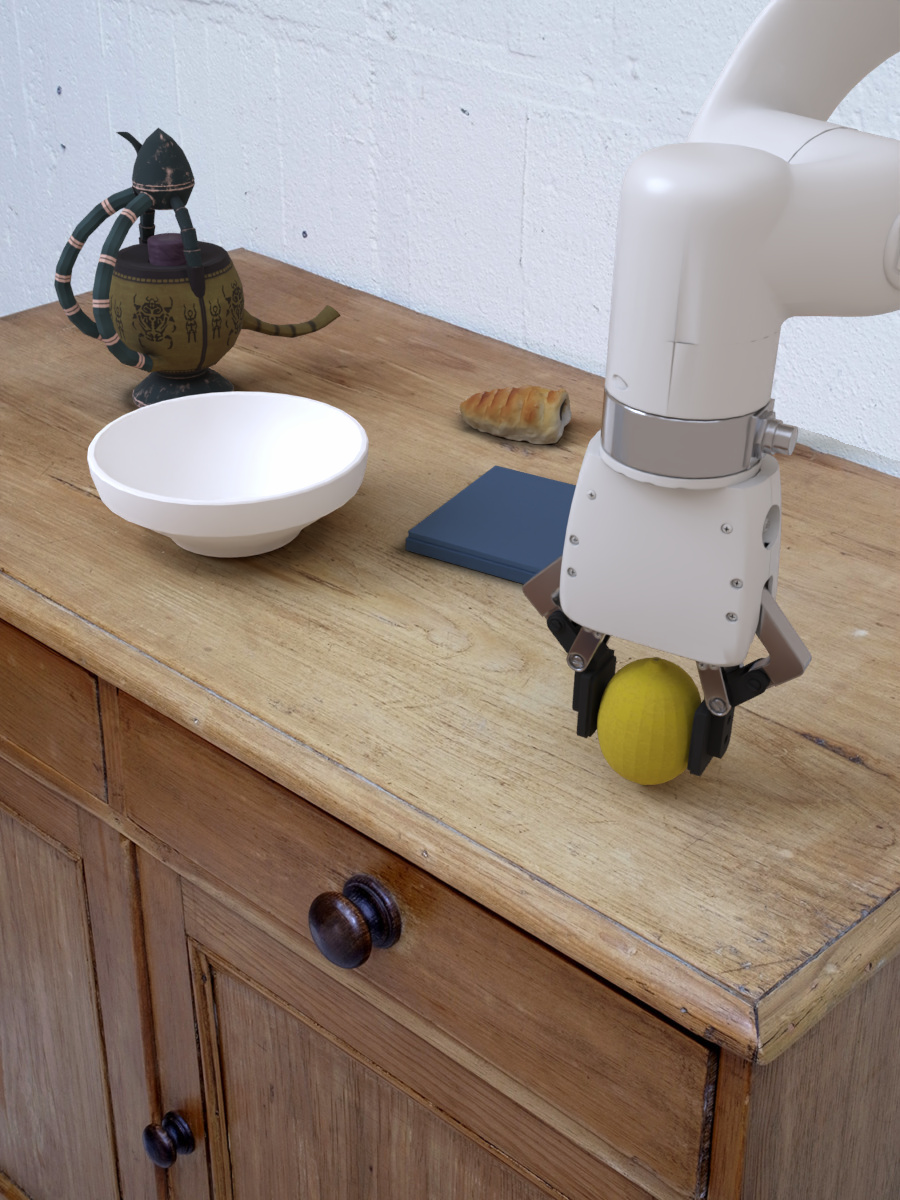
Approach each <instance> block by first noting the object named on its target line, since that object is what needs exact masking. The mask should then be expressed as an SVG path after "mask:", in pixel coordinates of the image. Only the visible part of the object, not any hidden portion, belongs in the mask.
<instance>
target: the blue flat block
mask: <svg viewBox="0 0 900 1200" xmlns="http://www.w3.org/2000/svg"><path fill="white" fill-rule="evenodd" d="M575 488H576V484H573V483H569V482H568V483H567V482H564V481H560V480H556V479H552V478H548V477H545V476H541V475H536V474H533V473H528V472H524V471H520V470H516V469H513V468H508V467H504V466H500V465H494V466H492V467H491V468H490V469H489V470H487V471H486V472H484V473H483V474H482V475H481V476H479V477H478V478H477V479H474V481H472V483H470V484H469V485H467V486H466V487H464V488H463V489H462V490H461V491H459V492H458V493H457V494H455V495H454V496H453V497H451V498H450V499H449V500H448V501H446V502H445V503H443V504H442V505H441V506H439V507H437V509H435V510H434V511H433V512H431V513H430V514H429V515H428V516H426V517H425V518H423V519H422V520H421V521H419V522H418V523H416V525H414V526H413V527H412V528H410V529H409V530H408V531H407V537H405V551H408V552H411V553H415V554H418V555H421V556H425V557H428V558H432V559H435V560H439V561H443V562H446V563H448V564H449V563H450V564H453V565H456V566H459V567H463V568H467V569H469V570H474V571H477V572H481V573H484V574H487V575H490V576H494V577H498V578H501V579H504V580H507V581H511V582H515V583H519V584H522V585H524V584H525V583H526V582H527V581H528V580H529V579H530V578H532V577H533V576H534V575H535V574H536V573H537V572H539V571H540V570H541V569H543V568H544V567H545V566H547V565H548V564H549V563H551V562H552V561H553V560H555V559H556V558H557V557H559V556H560V555H561V554H563V549H564V543H565V536H566V530H567V524H568V519H569V514H570V509H571V504H572V500H573V496H574V492H575Z"/></svg>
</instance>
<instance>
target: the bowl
mask: <svg viewBox="0 0 900 1200" xmlns="http://www.w3.org/2000/svg"><path fill="white" fill-rule="evenodd" d="M91 440H92V441H91V442H90V444H89V445H88V449H87V457H86V459H87V464H88V468H89V469H88V470H89V473H90V476H91V479H92V482H93V484H94V486H95V488H96V491H97V493H98V495H99V498H100V499H101V502H102V503H103V504H104V505H105V506H106V507H107V508H108V510H110V511H111V512H112V513H113V514H115V515H117V516H118V517H120V518H122V519H123V520H125V521H126V522H130V523H132V524H135V525H137V526H139V527H141V528H142V527H143V528H145V529H149V530H151V531H152V532H155V533H157V534H159V535H162V536H164V537H167V538H169V539H171V540H172V542H174V543H175V544H176V545H177V546H178V547H180V548H182V549H184V550H185V551H188V552H191V553H193V554H198V555H202V556H206V557H214V558H245V557H251V556H257V555H262V554H265V553H269V552H272V551H275V550H278V549H279V548H282V547H285V546H286V545H288V544H289V543H291V542H292V541H293V540H294V539H296V538H297V537H298V536H299V534H300V533H301V531H302V530H303V529H305V528H306V527H308V526H310V525H311V524H313V523H315V522H317V521H318V520H320V519H321V518H323V517H325V516H327V515H329V514H331V513H333V512H335V511H336V510H338V509H339V508H341V507H343V506H344V505H346V503H348V502H349V501H350V500H351V499H352V498H353V497H354V496H356V494H357V492H358V491H359V490H360V488H361V486H362V484H363V481H364V477H365V475H366V474H365V473H366V471H367V465H368V459H369V444H370V443H369V441H370V440H369V437H368V433H367V430H366V429H365V428H364V426H362V424H361V423H360V422H359V421H358V420H357V419H356V418H354V417H353V416H351V415H350V414H348V413H347V412H346V411H344V410H342V409H340V408H338V407H335V406H333V405H331V404H328V403H326V402H323V401H319V400H316V399H313V398H312V399H311V398H309V397H304V396H298V395H293V394H288V393H277V392H267V391H238V390H237V391H234V392H218V393H206V394H199V395H191V396H185V397H180V398H175V399H170V400H165V401H161V402H158V403H155V404H151V405H148V406H145V407H142V408H140V407H138V408H137V409H135V410H133V411H130V412H127V413H124V414H122V415H121V416H119V417H118V418H116V419H114V420H113V421H111V422H109V423H108V424H106V425H105V426H104V427H103V428H102V429H100V431H98V433H96V435H95V436H94V437H93V439H91Z"/></svg>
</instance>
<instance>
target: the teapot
mask: <svg viewBox="0 0 900 1200" xmlns="http://www.w3.org/2000/svg"><path fill="white" fill-rule="evenodd" d="M115 133H116V134H118V135H119V136H121V137H122V138H124V139H125V140H126V141H127V142H129V143H130V144H131V145H132V147H133V148H134V150H135V152H136V158H135V161H134V164H133V167H132V168H133V169H132V175H131V182H132V183H131V184H132V185H131V186H130V187H127V188H125V189H123V190H120V191H118V192H115V193H113V194H111V195H110V196H108V197H106V198H105V199H103V200H102V201H101V202H99V203H97V204H96V205H95V206H94V207H93V208H92V209H91V210H90V211H89V212H88V213H87V214H86V215H85V216H84V217H83V218H82V219H81V220H80V221H79V222H78V223H77V224H76V226H75V227H74V230H73V231H72V232H71V235H70V237H69V238H68V240H67V242H66V244H65V245H64V247H63V249H62V252H61V253H60V256H59V259H58V261H57V264H56V266H55V273H54V281H53V286H54V290H55V292H56V296H57V299H58V303H59V305H60V306H61V308H62V310H63V312H64V313H65V315H66V316H67V318H68V320H69V321H70V322H71V323H72V324H73V325H74V326H75V327H76V328H77V329H78V331H80V332H81V333H82V334H83V335H86V336H88V337H90V338H92V339H95V340H98V341H100V342H102V343H104V344H105V346H106V348H107V350H108V351H109V352H110V354H111V355H112V356H113V357H115V358H116V359H117V360H118V362H119V363H121V364H122V365H126V366H129V367H131V368H134V369H138V370H141V371H144V372H147V373H149V374H148V375H147V376H146V377H145V378H143V380H141V382H140V383H139V384H137V385H136V386H135V387H134V389H133V390H132V395H131V396H132V397H131V398H132V401H133V403H134V404H135V405H136V407H138V408H142V407H145V406H148V405H151V404H155V403H158V402H161V401H165V400H170V399H175V398H180V397H185V396H191V395H199V394H206V393H218V392H235V386H234V384H233V383H232V382H231V381H230V380H229V379H227V378H226V377H224V376H223V375H222V374H220V373H219V372H217V371H216V370H214V369H212V368H211V367H213V366H215V365H217V364H218V363H219V362H220V361H221V359H223V358H224V357H225V355H227V353H229V352H230V351H231V350H232V348H234V346H235V345H236V342H237V341H238V340H237V339H238V338H239V335H240V334H241V331H242V330H249V331H252V332H256V333H259V334H262V335H263V334H264V335H267V336H270V337H271V336H272V337H281V338H289V339H294V338H298V337H301V336H306V335H309V334H312V333H315V332H319V331H320V330H321V329H322V330H323V329H324V328H326V327H327V326H329V325H330V324H331V323H333V322H334V321H335V320H337V319H338V318H339V317H341V313H340V312H339V311H338V310H336V309H335V308H334V307H332V306H331V305H328V304H327V305H325V307H323V309H322V310H321V311H320V312H319V313H318V314H317V315H316V316H315V317H314V318H312V319H309V320H308V321H304V322H299V323H290V324H289V323H287V324H275V323H274V324H273V323H269V322H266V321H263V320H262V319H259V318H257V317H255V316H253V315H252V314H251V313H250V312H249V311H248V310H247V309H246V308H245V294H244V288H243V287H244V286H243V282H242V280H241V278H240V275H239V272H238V270H237V269H236V266H235V264H234V262H233V260H232V258H231V256H230V254H229V252H228V251H227V250H226V249H225V247H223V246H221V245H219V244H215V243H213V242H207V241H201V240H198V235H197V229H196V228H195V227H194V225H193V222H192V219H191V215H190V211H189V209H188V208H187V207H186V206H187V205H188V202H189V200H190V197H191V195H192V192H193V190H194V187H195V185H196V182H195V180H196V179H195V176H194V172H193V170H192V167H191V164H190V162H189V160H188V158H187V156H186V154H185V152H184V150H183V149H182V147H181V146H180V145H179V144H178V142H176V140H175V139H174V138H173V137H172V136H170V134H168V133H166V131H164V130H163V129H161V128H160V127H157V128H156V129H155V130H154V131H153V132H152V133H151V134H149V135H148V137H146V138H145V140H144V141H143V143H141V142H140V141H139V140H138V139H136V137H134V136H133V135H132V134H131V133H130V132H128V131H116V132H115ZM120 210H122V211H121V212H120V213H119V215H117V217H116V219H115V220H114V222H113V224H112V226H111V228H110V231H109V232H108V235H107V236H106V238H105V241H104V242H103V244H102V247H101V251H100V256H99V258H98V262H97V267H96V269H95V274H94V281H93V286H92V292H91V293H92V314H93V319H94V321H93V320H92V319H91V317H89V316H88V315H87V314H86V313H85V312H84V311H83V309H82V307H81V306H80V304H79V303H78V300H77V299H76V297H75V294H74V290H73V287H72V276H73V268H74V266H75V264H76V261H77V259H78V257H79V254H80V253H81V251H82V250H83V247H84V246H85V244H86V243H87V241H88V239H89V237H91V235H92V234H93V233H94V232H95V231H96V230H97V229H98V228H99V227H100V226H101V225H102V224H103V223H104V222H105V221H106V220H107V219H108V218H110V217H111V216H113V215H115V214H116V213H118V212H119V211H120ZM172 210H173V212H174V217H175V220H176V222H177V224H178V227H179V230H180V231H179V232H164V233H157V234H155V232H156V224H155V217H156V211H172ZM138 219H139V223H138V232H139V237H138V243H136V244H132V245H129V246H126V247H123V248H122V245H123V244H124V241H125V240H126V238H127V236H128V234H129V231H130V229H131V228H132V226H134V224H135V222H136V221H137V220H138Z"/></svg>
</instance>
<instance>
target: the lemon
mask: <svg viewBox="0 0 900 1200" xmlns="http://www.w3.org/2000/svg"><path fill="white" fill-rule="evenodd" d="M701 698H702V697H701V694H700V691H699V688H698V687H697V685H696V683H695V681H694V680H693V677H692V676H691V675H690V674H689V673H688V672H687V671H686V670H685V669H684V668H683V667H681V666H680V665H678V664H676V663H675V662H672V661H670V660H667V659H664V658H661V657H659V656H654V657H644V658H638V659H636V660H634V661H631V662H628V663H627V664H625V665H624V666H622V667H620V668H619V669H618V670H617V671H615V674H614V676H613V677H612V679H611V680H610V682H609V683H608V685H607V687H606V689H605V691H604V693H603V696H602V699H601V703H600V707H599V712H598V718H597V730H596V733H597V739H598V743H599V747H600V751H601V753H602V756H603V757H604V759H605V761H606V762H607V764H608V765H609V767H610V768H611V769H612V770H613V771H614V772H615V773H617V774H618V775H619V776H620V777H621V778H623V779H625V780H627V781H629V782H632V783H634V784H639V785H640V786H649V785H650V786H654V785H655V786H656V785H662V784H664V783H666V782H670V781H672V780H674V779H675V778H677V777H678V776H680V775H682V774H683V773H684V772H685V771H686V770H687V765H688V757H689V749H690V742H691V734H692V726H693V719H694V714H695V711H696V709H697V708H698V707H699V705H700V704H701V702H702V699H701Z"/></svg>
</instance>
